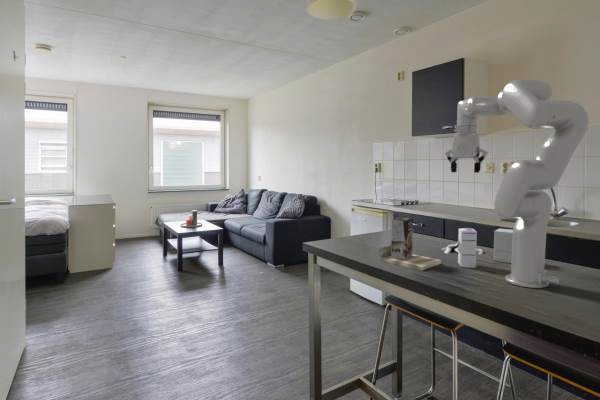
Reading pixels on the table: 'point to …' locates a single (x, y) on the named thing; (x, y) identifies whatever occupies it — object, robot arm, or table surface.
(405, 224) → the coffee box
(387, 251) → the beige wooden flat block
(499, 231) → the supplement box
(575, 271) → the table surface
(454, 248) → the cloth
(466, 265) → the syrup box
